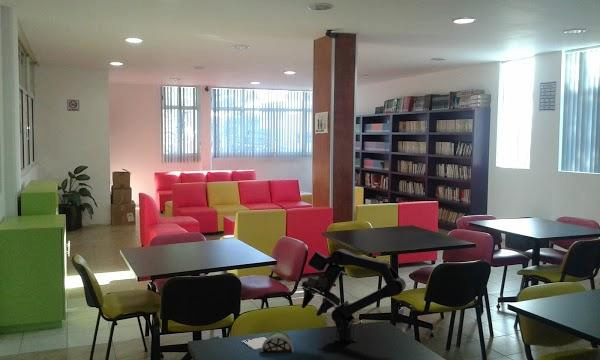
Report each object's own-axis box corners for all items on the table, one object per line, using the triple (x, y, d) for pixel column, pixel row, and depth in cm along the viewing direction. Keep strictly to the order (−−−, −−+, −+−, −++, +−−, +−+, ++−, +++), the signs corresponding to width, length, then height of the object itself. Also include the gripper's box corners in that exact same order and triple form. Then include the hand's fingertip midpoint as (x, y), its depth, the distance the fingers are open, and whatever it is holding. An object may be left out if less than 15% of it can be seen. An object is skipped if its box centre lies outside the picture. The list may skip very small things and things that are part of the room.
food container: (295, 328, 211) (293, 336, 201) (295, 343, 211) (293, 353, 201) (263, 327, 211) (260, 336, 201) (263, 343, 212) (260, 352, 202)
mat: (263, 337, 220) (263, 336, 220) (277, 345, 210) (277, 344, 210) (241, 341, 215) (241, 340, 215) (254, 350, 205) (254, 349, 205)
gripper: (303, 262, 219) (283, 295, 215) (333, 275, 204) (312, 311, 200) (319, 274, 225) (299, 307, 221) (349, 288, 211) (329, 323, 207)
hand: (309, 311), depth 212 cm, fingers open, 9 cm apart
